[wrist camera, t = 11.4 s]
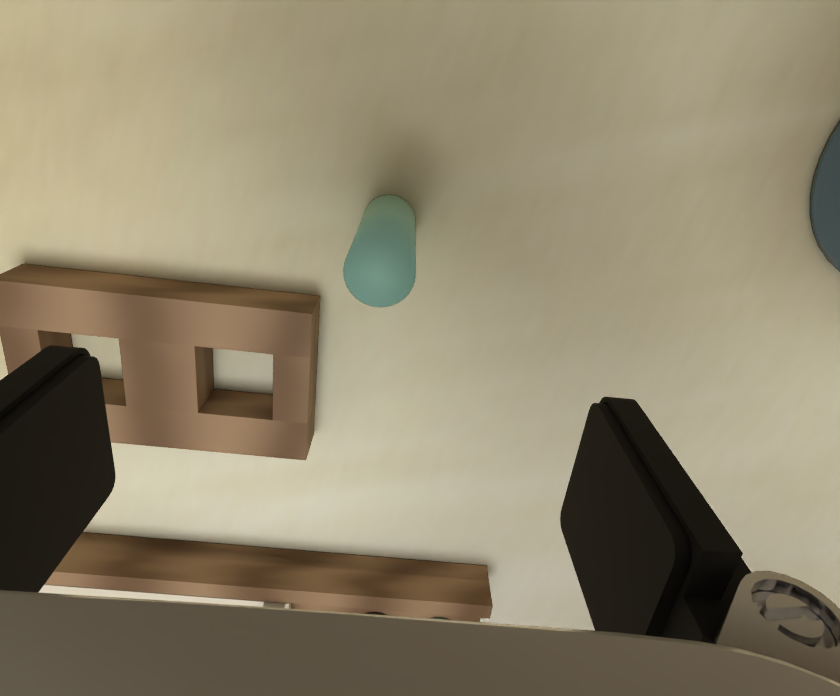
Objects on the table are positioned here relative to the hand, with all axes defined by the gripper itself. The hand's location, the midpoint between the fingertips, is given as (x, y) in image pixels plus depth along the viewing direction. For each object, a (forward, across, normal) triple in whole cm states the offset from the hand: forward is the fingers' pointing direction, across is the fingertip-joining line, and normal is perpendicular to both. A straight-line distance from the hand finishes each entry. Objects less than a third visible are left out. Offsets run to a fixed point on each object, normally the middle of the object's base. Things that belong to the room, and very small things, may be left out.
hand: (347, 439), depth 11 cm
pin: (+17, 0, 0) cm, 17 cm away
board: (+17, +5, +25) cm, 30 cm away
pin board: (+17, +10, +8) cm, 21 cm away
